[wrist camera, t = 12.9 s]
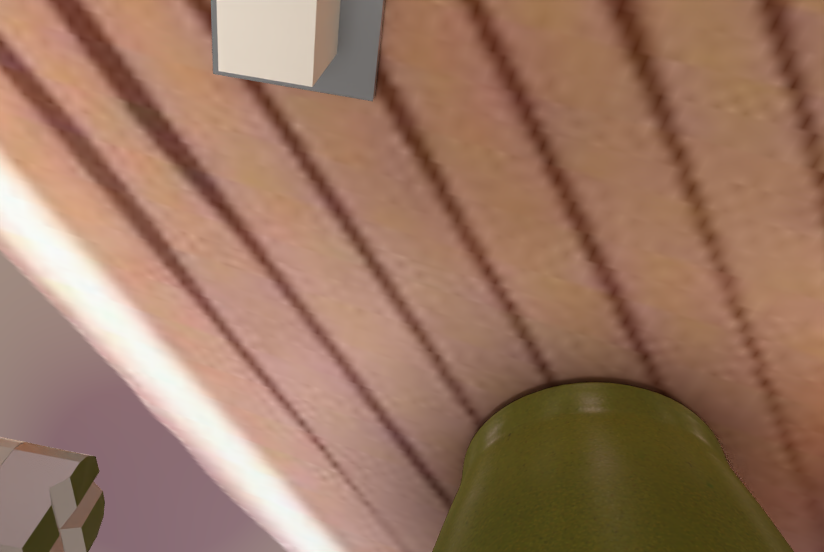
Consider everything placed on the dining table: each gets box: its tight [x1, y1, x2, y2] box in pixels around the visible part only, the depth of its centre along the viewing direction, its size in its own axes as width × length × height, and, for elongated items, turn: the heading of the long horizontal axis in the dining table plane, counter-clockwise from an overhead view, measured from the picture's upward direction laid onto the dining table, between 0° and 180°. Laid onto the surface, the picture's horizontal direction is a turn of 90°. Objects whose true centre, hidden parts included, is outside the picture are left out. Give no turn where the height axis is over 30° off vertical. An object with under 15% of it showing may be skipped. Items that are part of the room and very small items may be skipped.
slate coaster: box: [211, 0, 385, 101], centre depth 36 cm, size 9×9×1 cm
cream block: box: [216, 0, 341, 87], centre depth 34 cm, size 4×4×6 cm
